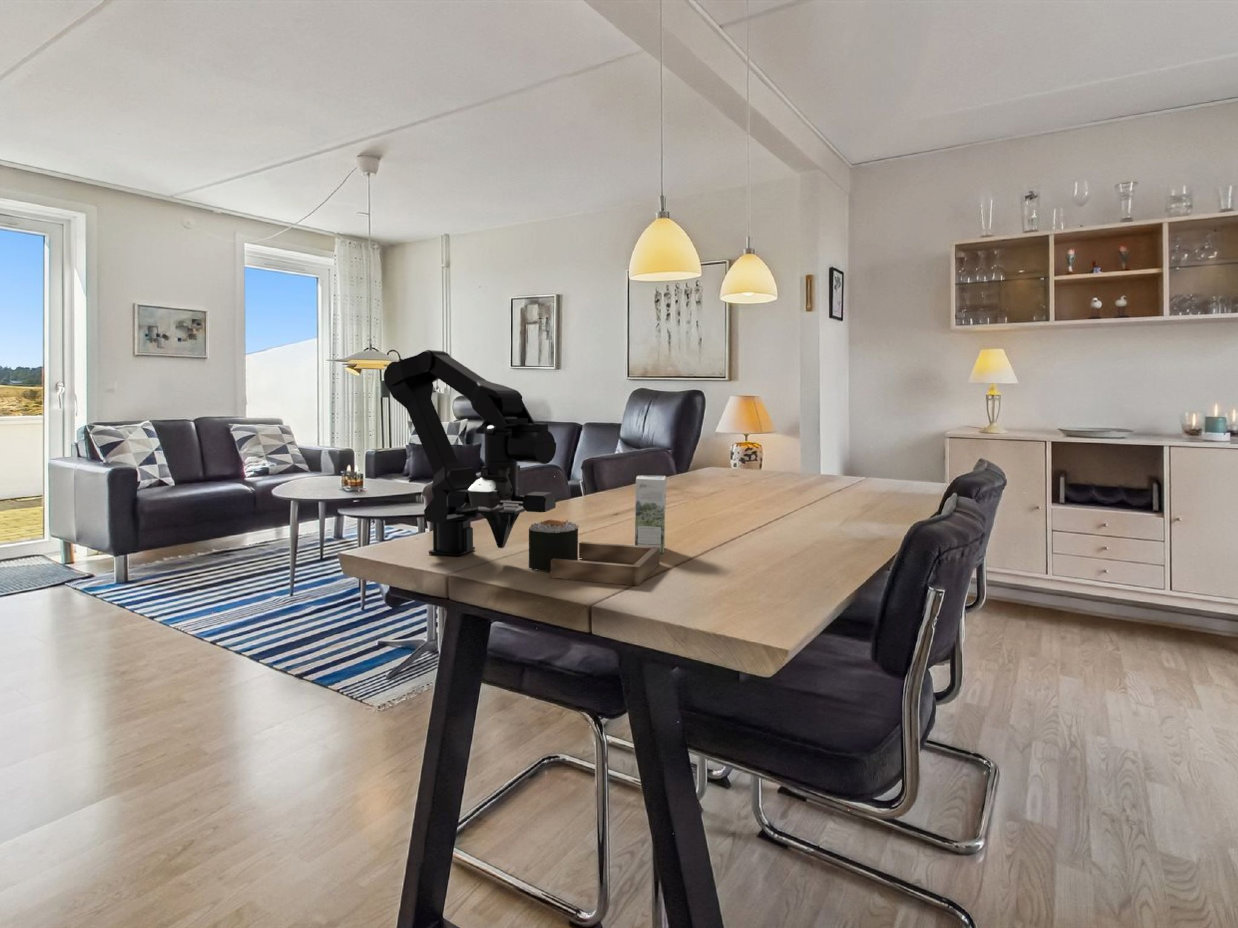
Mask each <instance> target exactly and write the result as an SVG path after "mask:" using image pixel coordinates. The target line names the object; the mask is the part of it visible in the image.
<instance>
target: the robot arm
mask: <svg viewBox="0 0 1238 928" xmlns="http://www.w3.org/2000/svg"><path fill="white" fill-rule="evenodd" d="M438 380H440V381H441V382H443V383H444V384H446V385H447V386H449V387H450V388H451V389H453V390H454V391H455V392H457V393H458V394H460V395H462V396H463V397H464V398H466V399H467V400H468V401H469V402H470V406H471V408H472V410H473V411H474V412H475V413H476V414H477V415H478V416H479V417H480V418H481V419H482V420H483V421H482V423H481V424H480V425H479V426H478V427H477V428H476V429H475V434H477V435H484V466H481V469H480V475H479V478H478V475H477V472H476V470H475V469H474V467H467V468H465V467H463V465H461V464H460V462H459V460H458V458H457V456H456V455H457V454H455V453H456V452H455V451H454V448H453V447H452V443H451V442H450V439H449V437H448V435H447V433H446V430H445V428H444V426H443V424H442V421H441V419H440V417H439V415H438V412H437V409H436V407H435V405H434V403H433V400H432V397H433V393H434V392H433V391H434V382H436V381H438ZM383 382H384V385H385V386H386V388H387V390H388V391H389V393H390V394H391V397H392V399H394V400H396V401H397V402H398V403H399V404H400V405H401V406H403V407H404V408H405V409H406V411H407V413H408V416H409V418H410V421H411V423H412V425H413V427H414V430H415V432H416V434H417V437H418V440H419V442H420V444H421V446H422V448H423V451H424V453H425V456H426V458H427V460H428V463H429V465H430V468H431V469H432V472H433V479H432V485H431V492H432V496H433V498H432V499H431V501H429V503H428V505H427V506H425V509H424V510H423V513H424V518H425V521H426V522H427V523H428V522H429V523H432V548H433V549H431V550H428V554H430V555H442V556H451V557H452V556H453V557H460V556H463V555H466V554H468V553H470V552H472V551H474V550H475V549H476V547H475V546H474V528H473V527H472V525H471V524H472V523H471V521H472V520H471V519H476V518H477V517H478V514H480V515H482V516H483V518H485V519H486V521H487V523H488V525H489V528H490V529H491V530H490V531H491V533H492V536H493V537H494V540H495V543H496V547H497V548H498V549H504V548H505V547H506V544H507V543H508V539H509V537H510V534H511V532H512V529H513V527H514V525H515V523H516V521H517V520H518V517H519V515H520V514H521V513H524V512H529V513H546V512H549V511H552V510H554V509H555V508H556V507H557V506H556V504H557V503H556V500H557V498H556V497H555V495H554V493H553V492H550V491H549V492H548V491H547V492H546V491H532V492H529V493H526V494H524V495H521V487H518V472H521V465H520V464H518V463H527V464H537V465H538V464H540V465H547V464H549V463H550V462H552V460H554V458H555V455H556V452H557V442H556V440H555V438H554V435H553V434H552V432H551V431H550V430H549V424H548V423H535V421H534V419H533V417H532V416H531V414H530V412H529V410H528V408H527V406H526V405H525V404H524V401H523V395H522V394H521V393H520V392H519V391H518V390H516V389H514V388H511V387H508V386H507V385H503V384H499V383H495V382H492V381H489V380H486V379H485V378H483V377H482V376H481V375H479V374H477V373H476V372H474V371H473V370H472V369H470V368H468V367H466V365H464V364H462V363H460V362H459V361H458V360H456V359H454V358H453V357H452V356H451V355H450V354H449V353H447V352H446V351H443V350H434V349H433V350H432V349H427V350H423V351H422V352H420V353H418V354H416V355H413V356H409V357H407V358H402V359H400V360H398V361H391V362H389V364H388V365H387V367H386V368H385V370H384V372H383Z"/></svg>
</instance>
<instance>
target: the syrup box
mask: <svg viewBox="0 0 1238 928" xmlns="http://www.w3.org/2000/svg"><path fill="white" fill-rule="evenodd" d="M666 496H667V476H666V475H643V474H642V475H637V476H636V478H635V501H634V502H635V505H634V506H635V510H634V515H635V517H634V518H635V519H634V521H635V522H634V546H648V547H660V554H664V553H665V546H666V542H665V541H666V539H665V538H666V533H665V532H666V526H665V525H666V502H667V499H666Z"/></svg>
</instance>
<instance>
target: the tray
mask: <svg viewBox="0 0 1238 928" xmlns="http://www.w3.org/2000/svg"><path fill="white" fill-rule="evenodd" d="M660 556H661V553H660V547H648V546H635V544H633V545H632V544H619V543H606V542H605V543H602V542H593V541H592V542H590V541H589V542H588V541H580V542H578V560H567V559H554V558H553V559H552V560H551V572H550V578H551V579H555V578H564V579H563V580H567V579H571V580H570V581H578V580H582V581H581V582H589V581H594V582H593V583H600V584H601V583H603V584H612V583H613V585H623V584H626V586H635V587H639V586H640V585H641V584H642V583H643V582H644V581H645V580H646V579H647V578H648V577H649V576H650V575H651V573H652V572H653V571H654V570H656V568H657V567H658V566H659V565H660V562H661V560H660V559H661V557H660ZM579 558H582V559H581V560H580V559H579ZM584 559H589V560H584ZM597 560H599V561H597ZM609 561H612V562H609Z"/></svg>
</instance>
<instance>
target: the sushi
mask: <svg viewBox="0 0 1238 928" xmlns="http://www.w3.org/2000/svg"><path fill="white" fill-rule="evenodd" d="M579 526H580V525H578V524H577V523H576V522H572V521H569V519H566V520H560V519H553V518H550V519H547V520H543V521H542V520H540V522H534V523H532V524H531V525H530V526H528V568H529V569H530V568H532V569H531V570H533V569H537V570H536V571H540V570H541V571H542V572H549V571H551V560H552V559H553V558H554V559H567V560H579V536H578V535H579Z"/></svg>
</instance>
